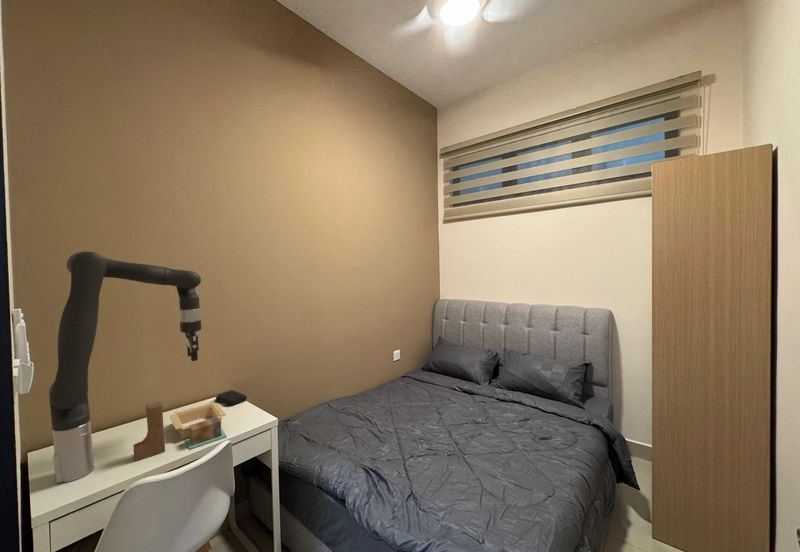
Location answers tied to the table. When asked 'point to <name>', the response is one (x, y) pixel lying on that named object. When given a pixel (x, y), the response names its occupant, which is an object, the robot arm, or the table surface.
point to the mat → (205, 441)
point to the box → (205, 430)
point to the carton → (195, 417)
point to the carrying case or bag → (231, 398)
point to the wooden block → (152, 433)
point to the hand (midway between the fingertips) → (192, 358)
